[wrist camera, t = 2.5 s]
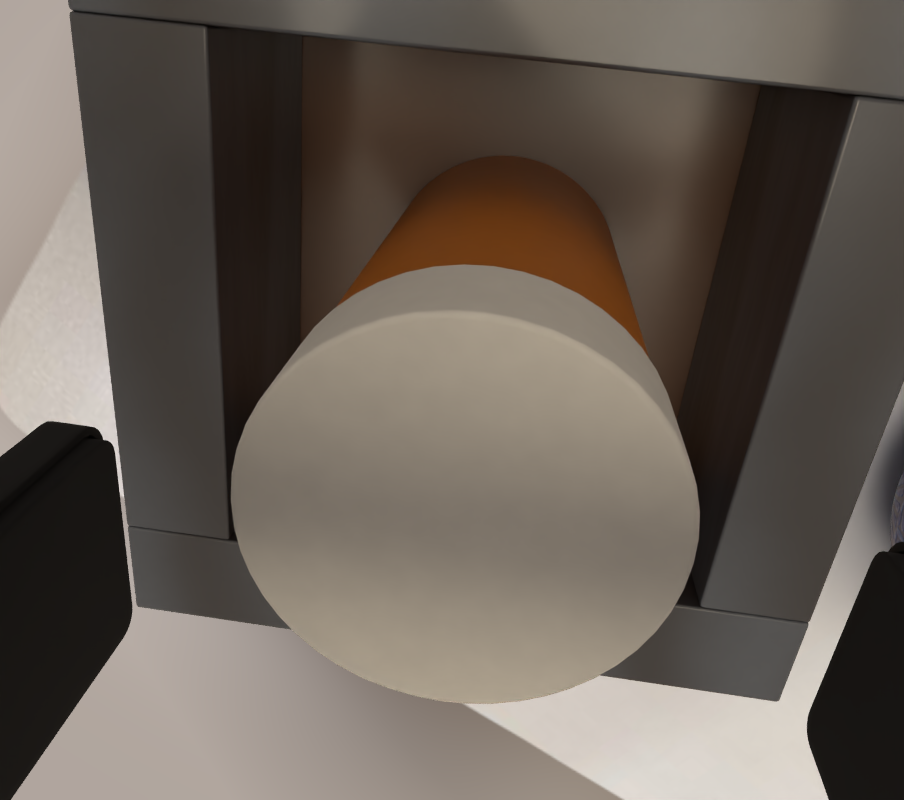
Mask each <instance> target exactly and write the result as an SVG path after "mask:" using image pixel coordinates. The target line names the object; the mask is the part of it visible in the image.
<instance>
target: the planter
mask: <svg viewBox="0 0 904 800" xmlns="http://www.w3.org/2000/svg"><path fill="white" fill-rule="evenodd" d="M890 535H891V546H894V545H895V544H896V543H899V542H904V471H903V473H902V476H901V478H900V480H899V483H898V486H897V489H896V492H895V496H894V501H893V506H892V512H891V532H890Z"/></svg>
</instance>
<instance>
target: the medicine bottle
mask: <svg viewBox="0 0 904 800" xmlns="http://www.w3.org/2000/svg"><path fill="white" fill-rule="evenodd" d="M231 506H232V515H233V523H234V529H235V533H236V536H237V540H238V544H239V547H240V551H241V553H242V556H243V558H244V560H245V563H246V565H247V568H248V570H249V572H250V574H251V576H252V578H253V579H254V581H255V583H256V585H257V586H258V588H259V590H260V591H261V593H262V595H263V596H264V598H265V599H266V600H267V601H268V603H269V604H270V605H271V607H272V608H273V609H274V611H275V612H276V613H277V615H278V616H279V617H280V618H281V619H282V620H283V621H284V622H285V623H286V624H287V625H288V626H289V627H290V628H291V629H292V630H293V631H294V632H295V633H296V634H297V635H298V636H299V637H301V638H302V639H303V640H304V641H305V642H306V643H308V644H309V645H310V646H311V647H312V648H314V649H315V650H316V651H318V652H319V653H321V654H322V655H324V656H325V657H327V658H328V659H330V660H331V661H333V662H334V663H336V664H337V665H339V666H341V667H343V668H344V669H347V670H348V671H350V672H352V673H354V674H356V675H358V676H360V677H361V678H364V679H366V680H369V681H371V682H374V683H376V684H379V685H381V686H384V687H386V688H389V689H392V690H396V691H399V692H403V693H406V694H409V695H413V696H418V697H423V698H428V699H433V700H437V701H446V702H456V703H474V704H493V703H505V702H516V701H522V700H528V699H533V698H538V697H543V696H547V695H550V694H554V693H557V692H560V691H564V690H567V689H570V688H572V687H575V686H577V685H580V684H582V683H584V682H587V681H589V680H591V679H594V678H595V677H597V676H599V675H601V674H602V673H604V672H606V671H608V670H609V669H611V668H613V667H615V666H616V665H618V664H619V663H621V662H622V661H623V660H625V659H626V658H627V657H629V656H630V655H631V654H633V653H634V652H635V651H637V650H638V649H639V648H640V647H641V646H642V645H643V644H644V643H645V642H646V641H647V640H648V639H649V638H650V637H651V636H652V635H653V634H654V633H655V632H656V631H657V630H658V628H659V627H660V626H661V624H662V623H663V622H664V621H665V619H666V618H667V617H668V616H669V614H670V613H671V611H672V610H673V608H674V606H675V604H676V603H677V601H678V599H679V597H680V595H681V594H682V592H683V590H684V588H685V585H686V583H687V580H688V577H689V575H690V572H691V569H692V567H693V564H694V560H695V555H696V550H697V545H698V540H699V523H700V508H699V500H698V492H697V484H696V481H695V477H694V474H693V471H692V467H691V464H690V460H689V457H688V454H687V451H686V448H685V445H684V442H683V439H682V436H681V433H680V430H679V427H678V423H677V420H676V417H675V414H674V411H673V408H672V405H671V402H670V399H669V396H668V393H667V391H666V389H665V387H664V385H663V383H662V380H661V378H660V376H659V374H658V372H657V370H656V368H655V367H654V365H653V364H652V362H651V361H650V359H649V356H648V353H647V350H646V346H645V343H644V340H643V337H642V334H641V330H640V327H639V324H638V321H637V317H636V314H635V311H634V308H633V304H632V301H631V298H630V295H629V292H628V288H627V285H626V282H625V279H624V275H623V272H622V269H621V266H620V263H619V259H618V256H617V253H616V250H615V246H614V243H613V240H612V237H611V233H610V230H609V227H608V225H607V223H606V221H605V218H604V216H603V214H602V212H601V211H600V209H599V208H598V206H597V205H596V203H595V201H594V200H593V199H592V198H591V197H590V196H589V194H588V193H587V192H586V191H585V190H584V189H583V188H582V187H581V186H580V185H579V184H578V183H576V182H575V181H574V180H573V179H572V178H570V177H569V176H567V175H566V174H564V173H563V172H561V171H559V170H557V169H555V168H553V167H551V166H549V165H547V164H544V163H541V162H538V161H535V160H532V159H528V158H522V157H517V156H491V157H483V158H479V159H474V160H470V161H467V162H465V163H462V164H459V165H457V166H454V167H453V168H451V169H449V170H447V171H445V172H443V173H442V174H440V175H439V176H437V177H436V178H435V179H433V180H432V181H431V182H429V183H428V184H427V185H426V186H425V187H424V188H423V189H422V190H421V191H420V192H419V193H418V194H417V196H416V197H415V198H414V199H413V201H412V202H411V203H410V205H409V206H408V207H407V209H406V210H405V212H404V213H403V214H402V216H401V217H400V219H399V220H398V221H397V223H396V224H395V225H394V227H393V228H392V230H391V231H390V232H389V234H388V235H387V237H386V238H385V239H384V241H383V242H382V244H381V245H380V246H379V248H378V249H377V251H376V252H375V253H374V255H373V256H372V258H371V259H370V260H369V262H368V263H367V264H366V266H365V267H364V269H363V270H362V271H361V273H360V274H359V276H358V277H357V278H356V280H355V281H354V283H353V284H352V285H351V287H350V288H349V290H348V291H347V292H346V294H345V295H344V297H343V298H342V299H341V301H340V302H339V303H338V305H337V306H336V308H334V309H333V310H332V311H331V312H330V313H329V314H328V315H327V316H326V317H324V318H323V319H322V320H321V321H320V322H319V323H318V324H317V325H316V326H315V327H314V328H313V329H312V331H311V332H310V333H309V335H308V336H307V337H306V338H305V340H304V341H303V342H302V343H301V345H300V346H299V347H298V349H297V350H296V351H295V353H294V354H293V355H292V357H291V358H290V359H289V361H288V362H287V363H286V365H285V366H284V367H283V369H282V370H281V371H280V373H279V374H278V375H277V377H276V378H275V380H274V381H273V382H272V384H271V385H270V386H269V388H268V389H267V390H266V392H265V393H264V394H263V396H262V397H261V398H260V400H259V401H258V403H257V405H256V407H255V408H254V410H253V412H252V414H251V415H250V417H249V419H248V421H247V423H246V424H245V427H244V430H243V433H242V435H241V438H240V441H239V443H238V446H237V449H236V454H235V459H234V464H233V470H232V479H231Z"/></svg>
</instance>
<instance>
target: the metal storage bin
mask: <svg viewBox="0 0 904 800" xmlns="http://www.w3.org/2000/svg"><path fill="white" fill-rule="evenodd" d="M68 2H69V7H70V9H71V10H73V11H72V12H70V22H71V32H72V40H73V49H74V58H75V67H76V76H77V84H78V93H79V102H80V111H81V120H82V128H83V136H84V146H85V154H86V164H87V172H88V181H89V190H90V199H91V208H92V216H93V225H94V234H95V243H96V251H97V260H98V269H99V278H100V287H101V295H102V304H103V313H104V322H105V331H106V339H107V348H108V357H109V366H110V375H111V383H112V392H113V401H114V410H115V418H116V427H117V436H118V445H119V454H120V462H121V471H122V480H123V489H124V498H125V506H126V515H127V523H128V525H129V527H128V532H129V541H130V549H131V558H132V567H133V576H134V584H135V593H136V603H137V606H138V607H144V608H151V609H157V610H164V611H171V612H178V613H185V614H191V615H198V616H205V617H212V618H218V619H224V620H231V621H238V622H245V623H251V624H259V625H265V626H272V627H278V628H285V629H291V628H290V627H289V626H288V625H287V624H286V623H285V622H284V621H283V620H282V619H281V618H280V617H279V616H278V615H277V613H276V612H275V611H274V609H273V608H272V607H271V605H270V604H269V603H268V601H267V600H266V599H265V598H264V596H263V595H262V593H261V591H260V590H259V588H258V586H257V585H256V583H255V581H254V579H253V578H252V576H251V574H250V572H249V570H248V568H247V565H246V563H245V560H244V558H243V556H242V553H241V551H240V547H239V544H238V540H237V536H236V533H235V529H234V523H233V515H232V506H231V479H232V470H233V464H234V459H235V454H236V449H237V446H238V443H239V441H240V438H241V435H242V433H243V430H244V427H245V424H246V423H247V421H248V419H249V417H250V415H251V414H252V412H253V410H254V408H255V407H256V405H257V403H258V401H259V400H260V398H261V397H262V396H263V394H264V393H265V392H266V390H267V389H268V388H269V386H270V385H271V384H272V382H273V381H274V380H275V378H276V377H277V375H278V374H279V373H280V371H281V370H282V369H283V367H284V366H285V365H286V363H287V362H288V361H289V359H290V358H291V357H292V355H293V354H294V353H295V351H296V350H297V349H298V347H299V346H300V345H301V343H302V342H303V341H304V340H305V338H306V337H307V336H308V335H309V333H310V332H311V331H312V329H313V328H314V327H315V326H316V325H317V324H318V323H319V322H320V321H321V320H322V319H323V318H324V317H326V316H327V315H328V314H329V313H330V312H331V311H332V310H333V309H334V308H336V306H337V305H338V303H339V302H340V301H341V299H342V298H343V297H344V295H345V294H346V292H347V291H348V290H349V288H350V287H351V285H352V284H353V283H354V281H355V280H356V278H357V277H358V276H359V274H360V273H361V271H362V270H363V269H364V267H365V266H366V264H367V263H368V262H369V260H370V259H371V258H372V256H373V255H374V253H375V252H376V251H377V249H378V248H379V246H380V245H381V244H382V242H383V241H384V239H385V238H386V237H387V235H388V234H389V232H390V231H391V230H392V228H393V227H394V225H395V224H396V223H397V221H398V220H399V219H400V217H401V216H402V214H403V213H404V212H405V210H406V209H407V207H408V206H409V205H410V203H411V202H412V201H413V199H414V198H415V197H416V196H417V194H418V193H419V192H420V191H421V190H422V189H423V188H424V187H425V186H426V185H427V184H428V183H429V182H431V181H432V180H433V179H435V178H436V177H437V176H439V175H440V174H442V173H443V172H445V171H447V170H449V169H451V168H453V167H454V166H457V165H459V164H462V163H465V162H467V161H470V160H474V159H479V158H483V157H491V156H517V157H522V158H528V159H532V160H535V161H538V162H541V163H544V164H547V165H549V166H551V167H553V168H555V169H557V170H559V171H561V172H563V173H564V174H566V175H567V176H569V177H570V178H572V179H573V180H574V181H575V182H576V183H578V184H579V185H580V186H581V187H582V188H583V189H584V190H585V191H586V192H587V193H588V194H589V196H590V197H591V198H592V199H593V200H594V201H595V203H596V205H597V206H598V208H599V209H600V211H601V212H602V214H603V216H604V218H605V221H606V223H607V225H608V227H609V230H610V233H611V237H612V240H613V243H614V246H615V250H616V253H617V256H618V259H619V263H620V266H621V269H622V272H623V275H624V279H625V282H626V285H627V288H628V292H629V295H630V298H631V301H632V304H633V308H634V311H635V314H636V317H637V321H638V324H639V327H640V330H641V334H642V337H643V340H644V343H645V346H646V350H647V353H648V356H649V359H650V361H651V362H652V364H653V365H654V367H655V368H656V370H657V372H658V374H659V376H660V378H661V380H662V383H663V385H664V387H665V389H666V391H667V393H668V396H669V399H670V402H671V405H672V408H673V411H674V414H675V417H676V420H677V423H678V427H679V430H680V433H681V436H682V439H683V442H684V445H685V448H686V451H687V454H688V457H689V460H690V464H691V467H692V471H693V474H694V477H695V481H696V484H697V492H698V500H699V508H700V523H699V540H698V545H697V550H696V555H695V560H694V564H693V567H692V569H691V572H690V575H689V577H688V580H687V583H686V585H685V588H684V590H683V592H682V594H681V595H680V597H679V599H678V601H677V603H676V604H675V606H674V608H673V610H672V611H671V613H670V614H669V616H668V617H667V618H666V619H665V621H664V622H663V623H662V624H661V626H660V627H659V628H658V630H657V631H656V632H655V633H654V634H653V635H652V636H651V637H650V638H649V639H648V640H647V641H646V642H645V643H644V644H643V645H642V646H641V647H640V648H639V649H638V650H637V651H635V652H634V653H633V654H631V655H630V656H629V657H627V658H626V659H625V660H623V661H622V662H621V663H619V664H618V665H616V666H615V667H613V668H611V669H609V670H608V671H606V672H604V673H602V674H601V676H608V677H615V678H622V679H628V680H635V681H642V682H648V683H655V684H662V685H669V686H675V687H682V688H689V689H696V690H702V691H709V692H716V693H722V694H729V695H736V696H743V697H749V698H756V699H763V700H770V701H779V699H780V697H781V694H782V691H783V689H784V686H785V684H786V681H787V679H788V676H789V674H790V671H791V668H792V666H793V663H794V661H795V658H796V656H797V653H798V651H799V648H800V645H801V643H802V640H803V638H804V635H805V633H806V630H807V628H808V622H809V621H810V619H811V617H812V614H813V611H814V609H815V606H816V604H817V601H818V599H819V596H820V594H821V591H822V588H823V586H824V583H825V581H826V578H827V576H828V573H829V571H830V568H831V565H832V563H833V560H834V558H835V555H836V553H837V550H838V548H839V545H840V542H841V540H842V537H843V535H844V532H845V530H846V527H847V525H848V522H849V519H850V517H851V514H852V512H853V509H854V507H855V504H856V502H857V499H858V496H859V494H860V491H861V489H862V486H863V484H864V481H865V478H866V476H867V473H868V471H869V468H870V466H871V463H872V461H873V458H874V455H875V453H876V450H877V448H878V445H879V443H880V440H881V438H882V435H883V432H884V430H885V427H886V425H887V422H888V420H889V417H890V415H891V412H892V409H893V407H894V404H895V402H896V399H897V397H898V394H899V392H900V389H901V386H902V384H903V381H904V0H68Z"/></svg>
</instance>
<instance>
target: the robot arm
mask: <svg viewBox="0 0 904 800" xmlns="http://www.w3.org/2000/svg"><path fill="white" fill-rule="evenodd" d="M131 617H132V600H131V590H130V582H129V573H128V565H127V555H126V547H125V538H124V529H123V520H122V511H121V502H120V493H119V485H118V476H117V467H116V458H115V451H114V447H113V445H112V444H111V443H110V442H109V441H106V440H103V438H102V435H101V433H100V432H99V430H98V429H96V428H94V427H89V426H82V425H75V424H68V423H61V422H54V421H50V422H45V423H44V424H42V425H40V426H39V427H38V428H36V429H35V430H34V431H32V432H31V433H30V434H29V435H27V436H26V437H25V438H24V439H23V440H21V441H20V442H19V443H17V444H16V445H15V446H14V447H12V448H11V449H10V450H8V451H7V452H6V453H5V454H3V455H2V456H1V457H0V800H11V799H12V797H13V795H14V794H15V793H16V791H17V790H18V788H19V787H20V786H21V784H22V783H23V781H24V780H25V778H26V777H27V776H28V774H29V773H30V771H31V770H32V768H33V767H34V766H35V764H36V762H37V761H38V760H39V758H40V757H41V755H42V754H43V752H44V751H45V749H46V748H47V747H48V745H49V744H50V743H51V741H52V740H53V738H54V737H55V735H56V734H57V732H58V731H59V729H60V728H61V727H62V725H63V724H64V722H65V721H66V719H67V718H68V717H69V715H70V714H71V712H72V711H73V709H74V708H75V707H76V705H77V703H78V702H79V701H80V699H81V698H82V696H83V695H84V694H85V692H86V691H87V689H88V688H89V686H90V685H91V683H92V682H93V681H94V679H95V678H96V676H97V675H98V673H99V672H100V671H101V669H102V668H103V666H104V665H105V663H106V662H107V661H108V659H109V658H110V656H111V655H112V653H113V652H114V651H115V649H116V647H117V646H118V645H119V643H120V642H121V640H122V639H123V637H124V636H125V634H126V632H127V630H128V627H129V624H130V621H131ZM807 735H808V741H809V745H810V748H811V751H812V754H813V757H814V759H815V762H816V765H817V768H818V770H819V773H820V776H821V779H822V782H823V784H824V787H825V790H826V793H827V796H828V798H829V800H904V542H899V543H896V544H895V545H894V546H892V547H891V548H890V550H889V552H885V551H882V552H879V553H878V554H877V555H875V557H874V558H873V560H872V562H871V565H870V567H869V569H868V572H867V574H866V577H865V579H864V581H863V584H862V586H861V589H860V591H859V593H858V596H857V598H856V601H855V603H854V605H853V608H852V610H851V613H850V615H849V618H848V620H847V622H846V625H845V627H844V630H843V632H842V634H841V637H840V639H839V642H838V644H837V646H836V649H835V651H834V654H833V656H832V659H831V661H830V663H829V666H828V668H827V671H826V673H825V675H824V678H823V680H822V683H821V685H820V687H819V690H818V692H817V695H816V697H815V699H814V702H813V704H812V707H811V709H810V712H809V715H808V721H807Z"/></svg>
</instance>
